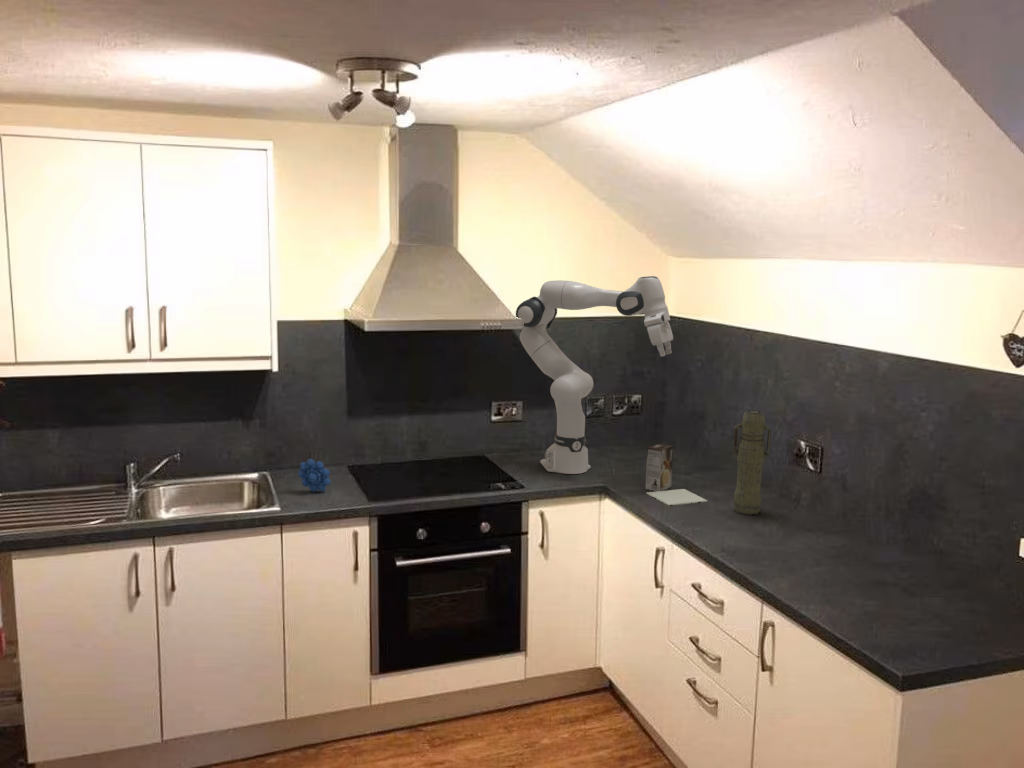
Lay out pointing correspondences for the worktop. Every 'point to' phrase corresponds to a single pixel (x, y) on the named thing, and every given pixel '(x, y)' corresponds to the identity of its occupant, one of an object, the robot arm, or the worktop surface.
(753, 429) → the thermos
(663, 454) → the coffee box
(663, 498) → the mat
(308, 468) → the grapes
